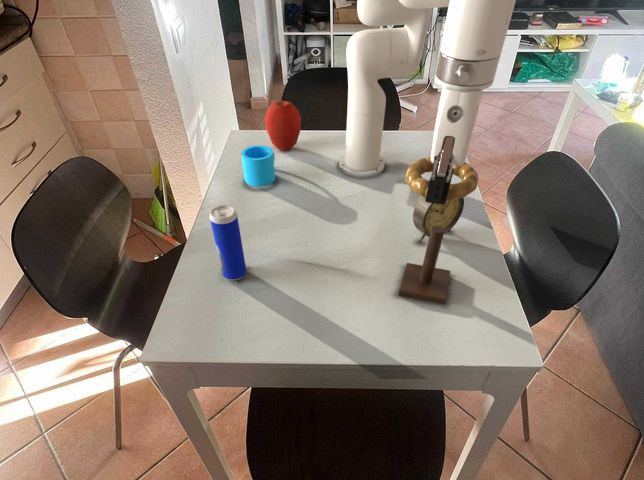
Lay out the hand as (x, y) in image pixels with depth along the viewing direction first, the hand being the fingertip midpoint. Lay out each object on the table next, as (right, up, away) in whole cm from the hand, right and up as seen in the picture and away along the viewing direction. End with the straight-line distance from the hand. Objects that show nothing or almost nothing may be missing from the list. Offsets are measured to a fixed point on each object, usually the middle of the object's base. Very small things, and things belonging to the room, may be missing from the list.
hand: (436, 196), depth 70 cm
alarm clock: (+7, +1, +29) cm, 30 cm away
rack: (+3, -12, +18) cm, 21 cm away
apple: (-28, +36, +59) cm, 74 cm away
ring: (+1, +4, +2) cm, 5 cm away
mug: (-33, +21, +47) cm, 61 cm away
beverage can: (-37, -9, +21) cm, 44 cm away
